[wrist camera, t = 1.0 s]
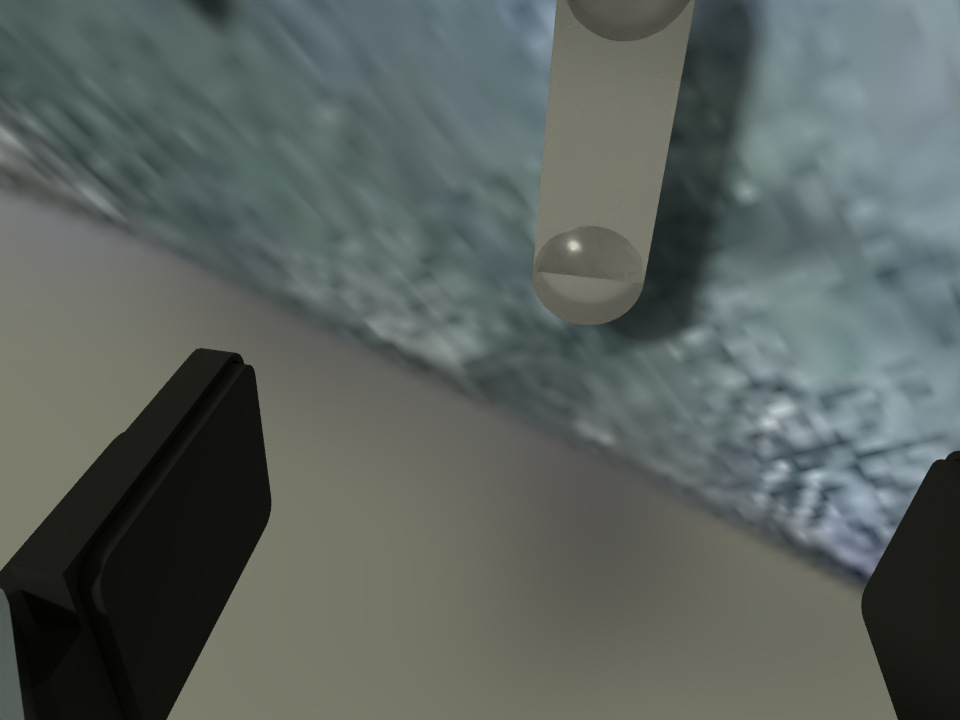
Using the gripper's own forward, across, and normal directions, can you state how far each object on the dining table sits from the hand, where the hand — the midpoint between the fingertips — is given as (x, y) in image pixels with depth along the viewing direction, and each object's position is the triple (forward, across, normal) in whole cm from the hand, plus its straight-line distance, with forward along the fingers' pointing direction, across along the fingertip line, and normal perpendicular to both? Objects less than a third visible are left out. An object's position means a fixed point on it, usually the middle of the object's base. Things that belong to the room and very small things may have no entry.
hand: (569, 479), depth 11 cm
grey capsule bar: (+20, -1, 0) cm, 20 cm away
